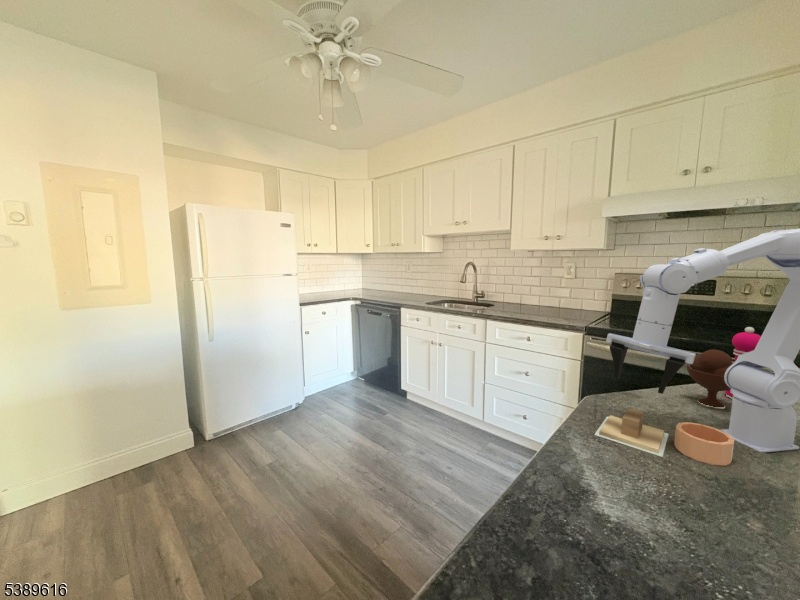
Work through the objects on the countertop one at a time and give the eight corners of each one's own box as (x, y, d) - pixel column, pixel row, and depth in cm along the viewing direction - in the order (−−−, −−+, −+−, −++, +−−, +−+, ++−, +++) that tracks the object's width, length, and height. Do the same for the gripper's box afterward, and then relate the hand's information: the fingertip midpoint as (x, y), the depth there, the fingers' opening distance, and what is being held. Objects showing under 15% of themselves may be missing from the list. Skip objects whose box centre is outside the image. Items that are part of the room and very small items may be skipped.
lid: (609, 418, 77) (611, 400, 76) (663, 433, 70) (665, 414, 69) (599, 434, 69) (600, 415, 69) (657, 453, 62) (660, 432, 62)
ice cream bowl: (754, 416, 78) (762, 356, 76) (700, 412, 80) (707, 353, 79) (720, 398, 88) (726, 344, 87) (673, 394, 91) (679, 343, 89)
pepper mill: (769, 405, 84) (779, 330, 81) (736, 403, 85) (746, 329, 83) (744, 394, 91) (753, 324, 88) (715, 392, 92) (723, 324, 90)
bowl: (697, 441, 67) (700, 421, 67) (743, 465, 59) (746, 442, 59) (664, 444, 66) (666, 423, 66) (705, 469, 58) (708, 446, 58)
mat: (606, 417, 78) (607, 416, 78) (668, 435, 70) (668, 433, 70) (594, 436, 69) (594, 434, 69) (662, 458, 61) (662, 456, 61)
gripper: (608, 314, 68) (594, 375, 70) (699, 332, 58) (679, 403, 60) (617, 314, 73) (603, 370, 75) (702, 331, 63) (684, 396, 64)
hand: (637, 385), depth 68 cm, fingers open, 7 cm apart
